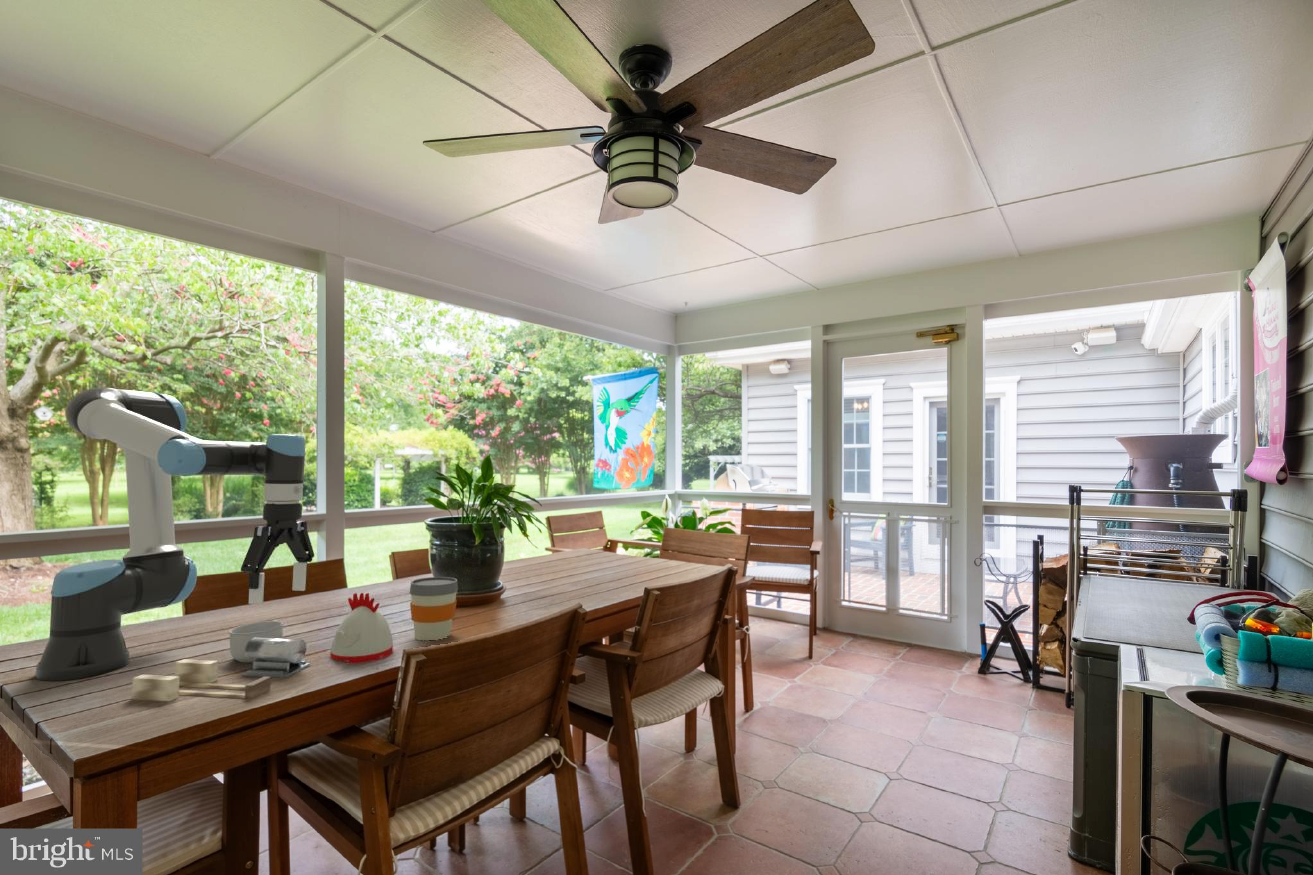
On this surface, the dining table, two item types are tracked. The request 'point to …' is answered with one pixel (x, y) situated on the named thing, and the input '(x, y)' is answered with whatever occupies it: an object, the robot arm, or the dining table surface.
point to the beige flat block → (192, 683)
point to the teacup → (252, 636)
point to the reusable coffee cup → (433, 606)
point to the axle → (275, 650)
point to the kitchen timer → (362, 633)
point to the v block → (275, 668)
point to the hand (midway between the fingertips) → (278, 596)
